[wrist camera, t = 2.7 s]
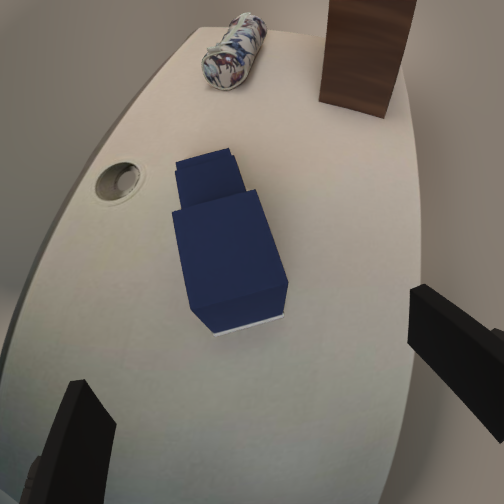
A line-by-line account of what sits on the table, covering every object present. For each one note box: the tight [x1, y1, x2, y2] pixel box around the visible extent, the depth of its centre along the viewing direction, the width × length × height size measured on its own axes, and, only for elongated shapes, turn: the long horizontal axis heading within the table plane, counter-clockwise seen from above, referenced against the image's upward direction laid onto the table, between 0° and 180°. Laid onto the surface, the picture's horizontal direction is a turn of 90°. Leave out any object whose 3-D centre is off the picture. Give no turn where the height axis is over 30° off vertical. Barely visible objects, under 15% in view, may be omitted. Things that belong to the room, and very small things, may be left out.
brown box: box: [319, 0, 417, 119], centre depth 41 cm, size 26×12×28 cm, turn 162°
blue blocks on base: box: [172, 148, 288, 336], centre depth 33 cm, size 22×8×12 cm, turn 16°
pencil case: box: [201, 12, 267, 90], centre depth 51 cm, size 22×8×10 cm, turn 168°
